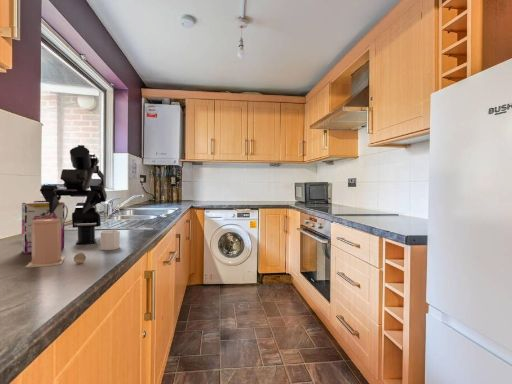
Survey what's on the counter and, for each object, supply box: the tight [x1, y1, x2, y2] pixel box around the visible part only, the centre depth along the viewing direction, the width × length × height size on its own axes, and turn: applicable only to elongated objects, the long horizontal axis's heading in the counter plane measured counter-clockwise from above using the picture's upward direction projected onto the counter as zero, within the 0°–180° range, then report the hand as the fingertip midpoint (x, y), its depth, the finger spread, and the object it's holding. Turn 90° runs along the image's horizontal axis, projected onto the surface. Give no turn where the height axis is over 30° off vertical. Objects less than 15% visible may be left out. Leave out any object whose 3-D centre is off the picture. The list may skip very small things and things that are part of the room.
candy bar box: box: [21, 201, 66, 255], centre depth 96 cm, size 11×5×16 cm, turn 141°
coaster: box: [25, 256, 66, 269], centre depth 82 cm, size 8×8×1 cm
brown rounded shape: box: [31, 219, 62, 264], centre depth 82 cm, size 6×6×12 cm
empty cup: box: [100, 229, 121, 251], centre depth 102 cm, size 6×6×6 cm
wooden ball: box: [73, 252, 87, 265], centre depth 82 cm, size 3×3×3 cm
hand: (66, 212), depth 91 cm, fingers open, 9 cm apart
